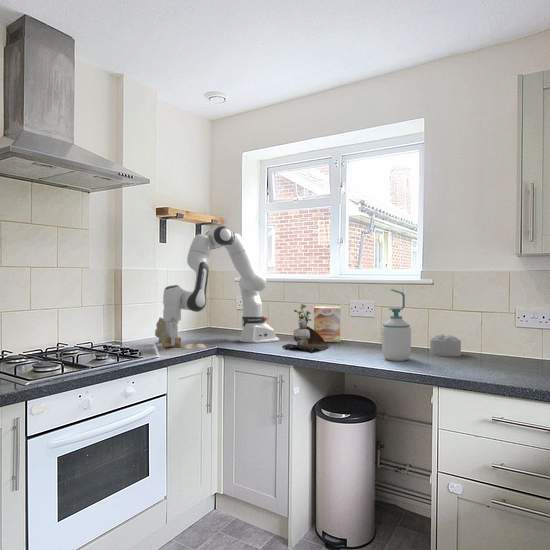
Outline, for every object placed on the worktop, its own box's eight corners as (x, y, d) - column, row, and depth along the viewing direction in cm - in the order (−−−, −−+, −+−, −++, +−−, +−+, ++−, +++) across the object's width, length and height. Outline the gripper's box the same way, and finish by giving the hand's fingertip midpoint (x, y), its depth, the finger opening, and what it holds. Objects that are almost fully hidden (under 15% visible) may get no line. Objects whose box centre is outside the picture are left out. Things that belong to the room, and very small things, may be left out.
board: (202, 345, 228) (202, 343, 228) (206, 349, 216) (206, 347, 216) (160, 348, 221) (160, 345, 221) (162, 352, 209) (162, 350, 209)
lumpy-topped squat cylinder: (463, 356, 194) (463, 337, 194) (435, 356, 194) (434, 337, 194) (453, 352, 205) (453, 334, 205) (426, 352, 204) (426, 334, 204)
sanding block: (179, 345, 220) (179, 336, 220) (180, 346, 215) (181, 338, 215) (161, 346, 217) (162, 337, 217) (162, 347, 212) (162, 338, 212)
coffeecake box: (313, 341, 240) (313, 307, 240) (314, 339, 247) (314, 306, 247) (340, 342, 238) (340, 307, 238) (340, 340, 245) (340, 306, 245)
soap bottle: (383, 355, 196) (383, 288, 196) (411, 357, 192) (411, 288, 192) (380, 360, 185) (379, 289, 185) (410, 362, 180) (409, 289, 180)
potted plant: (280, 354, 216) (281, 306, 223) (302, 357, 230) (301, 312, 237) (313, 351, 204) (312, 301, 211) (333, 355, 218) (332, 308, 225)
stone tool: (175, 344, 235) (174, 317, 235) (172, 345, 231) (171, 317, 231) (156, 343, 237) (156, 316, 237) (153, 344, 234) (153, 317, 234)
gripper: (180, 318, 208) (180, 347, 208) (176, 315, 227) (176, 341, 227) (167, 319, 206) (167, 347, 206) (164, 315, 225) (164, 341, 225)
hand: (172, 344), depth 216 cm, fingers closed on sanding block, 5 cm apart
